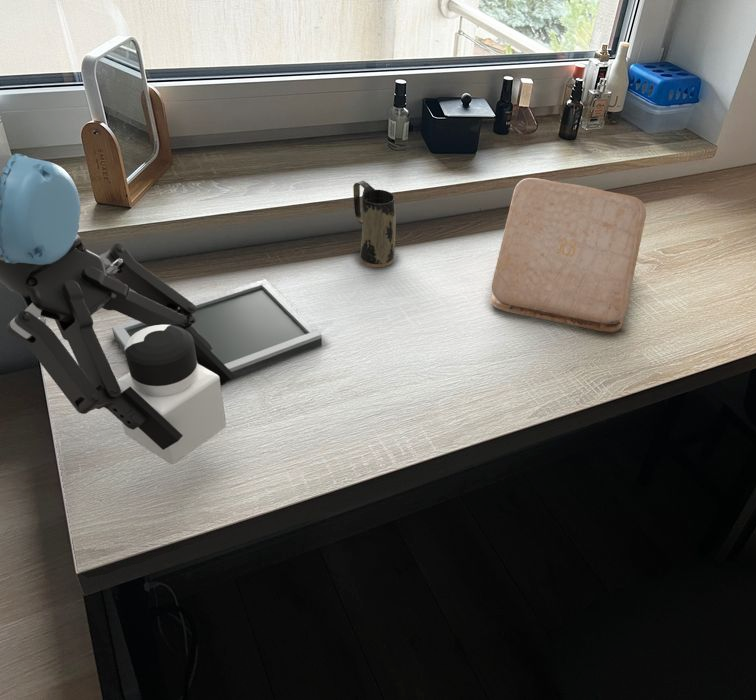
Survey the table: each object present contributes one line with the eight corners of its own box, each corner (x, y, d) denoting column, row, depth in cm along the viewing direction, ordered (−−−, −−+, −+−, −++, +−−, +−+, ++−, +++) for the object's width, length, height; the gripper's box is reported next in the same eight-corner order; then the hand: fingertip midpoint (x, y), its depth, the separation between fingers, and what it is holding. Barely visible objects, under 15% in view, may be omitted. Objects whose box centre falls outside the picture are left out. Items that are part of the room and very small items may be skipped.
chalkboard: (162, 407, 87) (159, 394, 86) (114, 338, 96) (111, 326, 95) (322, 345, 99) (321, 334, 98) (266, 289, 108) (265, 278, 107)
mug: (401, 260, 118) (404, 193, 111) (376, 271, 115) (378, 203, 107) (368, 240, 122) (369, 174, 115) (343, 251, 118) (342, 184, 111)
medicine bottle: (228, 427, 76) (215, 335, 68) (172, 467, 71) (151, 373, 63) (181, 398, 78) (164, 307, 71) (124, 435, 73) (99, 341, 66)
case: (484, 312, 109) (498, 217, 99) (511, 246, 125) (524, 158, 115) (619, 342, 106) (646, 247, 96) (628, 270, 123) (652, 183, 113)
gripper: (78, 204, 74) (234, 361, 82) (-105, 316, 58) (112, 501, 65) (113, 166, 70) (274, 335, 78) (-72, 274, 54) (155, 476, 61)
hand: (200, 410), depth 71 cm, fingers closed on medicine bottle, 9 cm apart
